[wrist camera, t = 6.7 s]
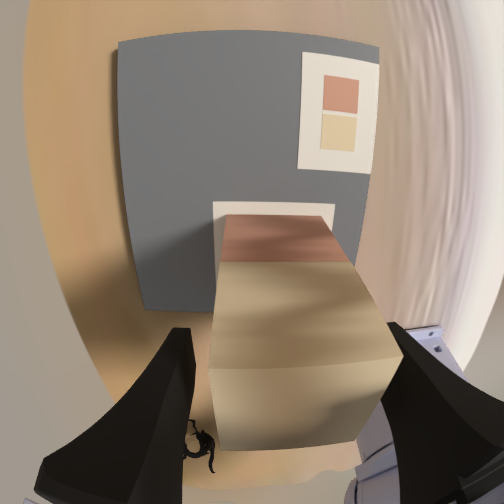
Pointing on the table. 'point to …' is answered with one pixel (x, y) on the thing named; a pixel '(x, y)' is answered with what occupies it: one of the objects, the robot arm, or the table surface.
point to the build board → (238, 146)
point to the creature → (202, 446)
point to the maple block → (296, 355)
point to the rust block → (279, 239)
